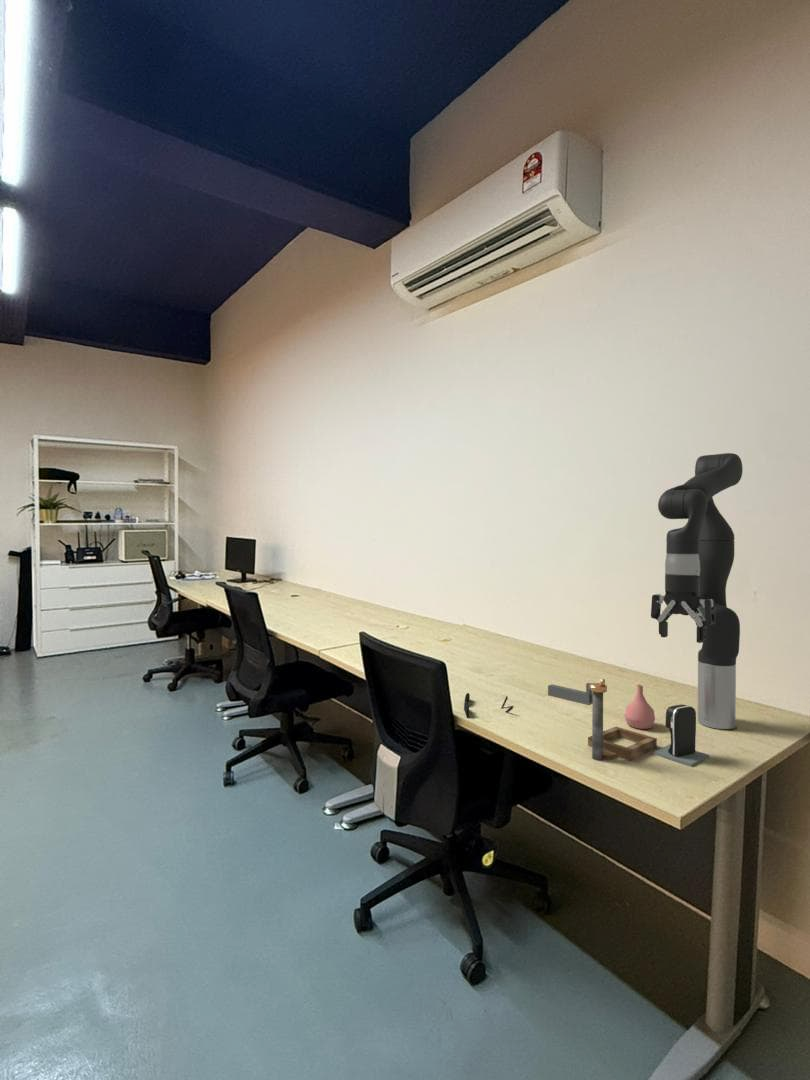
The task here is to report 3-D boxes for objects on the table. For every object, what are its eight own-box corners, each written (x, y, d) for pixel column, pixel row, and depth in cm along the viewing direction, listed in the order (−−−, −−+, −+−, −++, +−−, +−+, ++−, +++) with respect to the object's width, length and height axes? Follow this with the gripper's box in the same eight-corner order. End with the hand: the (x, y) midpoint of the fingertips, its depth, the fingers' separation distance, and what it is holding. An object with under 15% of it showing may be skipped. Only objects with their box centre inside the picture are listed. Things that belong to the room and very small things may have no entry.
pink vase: (652, 726, 154) (652, 683, 154) (657, 735, 147) (657, 690, 147) (623, 723, 156) (623, 681, 156) (626, 732, 149) (626, 688, 149)
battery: (683, 747, 137) (683, 701, 136) (696, 753, 133) (697, 706, 133) (662, 752, 134) (663, 705, 134) (676, 757, 130) (676, 709, 130)
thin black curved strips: (514, 726, 154) (514, 708, 154) (462, 724, 156) (462, 706, 156) (510, 708, 171) (510, 692, 171) (463, 706, 173) (463, 690, 172)
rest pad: (671, 745, 139) (671, 743, 139) (708, 757, 132) (708, 754, 132) (653, 754, 134) (653, 752, 134) (691, 766, 127) (691, 764, 127)
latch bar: (545, 696, 139) (545, 670, 139) (554, 693, 142) (554, 667, 142) (601, 709, 128) (601, 681, 128) (609, 706, 131) (609, 678, 131)
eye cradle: (616, 735, 146) (616, 675, 146) (656, 748, 138) (657, 684, 138) (574, 752, 135) (574, 687, 135) (616, 767, 126) (616, 697, 126)
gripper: (645, 571, 136) (645, 637, 136) (706, 574, 125) (705, 646, 125) (660, 570, 141) (660, 634, 141) (720, 573, 130) (720, 642, 130)
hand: (681, 639), depth 133 cm, fingers open, 8 cm apart
